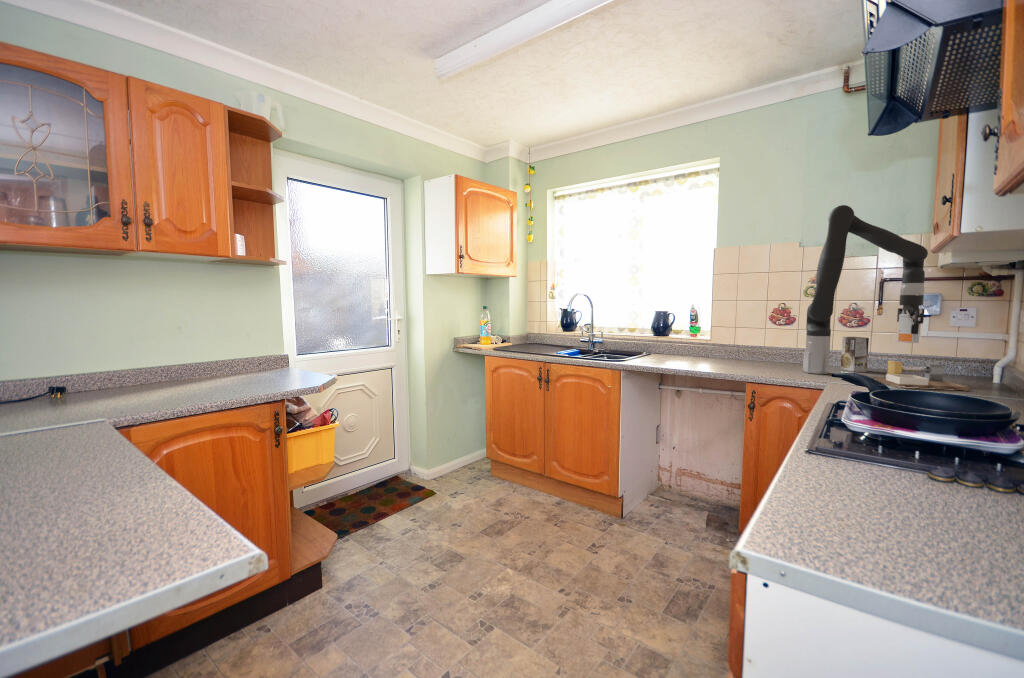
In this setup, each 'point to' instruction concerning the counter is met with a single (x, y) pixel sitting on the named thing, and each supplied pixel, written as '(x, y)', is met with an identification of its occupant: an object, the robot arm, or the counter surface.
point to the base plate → (930, 385)
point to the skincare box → (906, 330)
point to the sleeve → (907, 379)
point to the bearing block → (934, 372)
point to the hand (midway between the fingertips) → (908, 333)
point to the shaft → (903, 368)
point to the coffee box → (854, 354)
